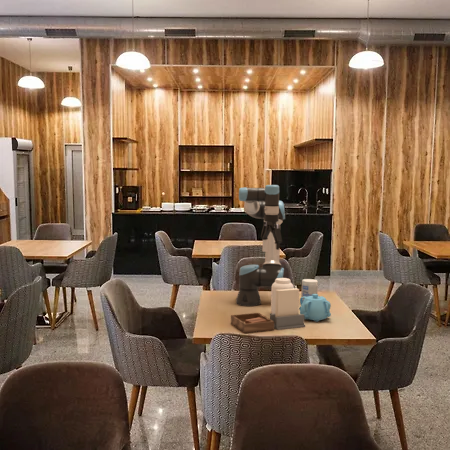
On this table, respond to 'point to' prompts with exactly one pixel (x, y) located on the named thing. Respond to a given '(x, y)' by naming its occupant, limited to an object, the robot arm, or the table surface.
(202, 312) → the table surface
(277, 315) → the tall board
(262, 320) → the cherry offcut
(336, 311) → the table surface
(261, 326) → the brown wooden tray
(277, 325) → the slot holder
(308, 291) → the supplement tub
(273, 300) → the white jar
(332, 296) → the table surface
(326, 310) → the decorative pot
